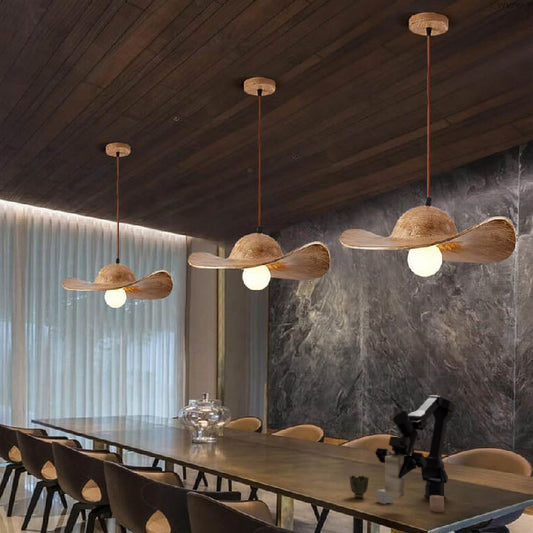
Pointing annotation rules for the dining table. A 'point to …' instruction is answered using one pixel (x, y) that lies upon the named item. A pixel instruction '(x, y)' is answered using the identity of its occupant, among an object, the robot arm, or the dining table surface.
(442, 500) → the pink cube
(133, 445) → the dining table surface
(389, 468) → the birch block
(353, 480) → the cup
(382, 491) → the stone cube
